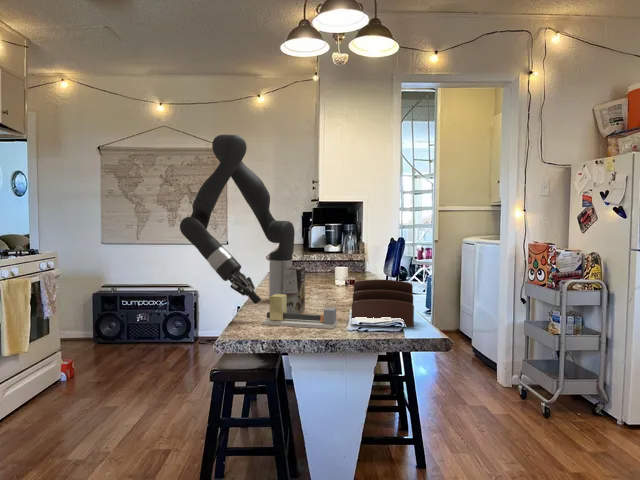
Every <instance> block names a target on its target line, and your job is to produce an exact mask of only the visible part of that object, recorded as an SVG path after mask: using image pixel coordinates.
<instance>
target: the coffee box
mask: <svg viewBox="0 0 640 480" xmlns="http://www.w3.org/2000/svg"><path fill="white" fill-rule="evenodd" d="M283 294H287V313H294V314H302V312H303V311H305V310H306V309H305V308H306V267H304V266H303V267H302V266H301V267H300V266H295V267H293V266H292V267H289V268H286V269H283Z"/></svg>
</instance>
